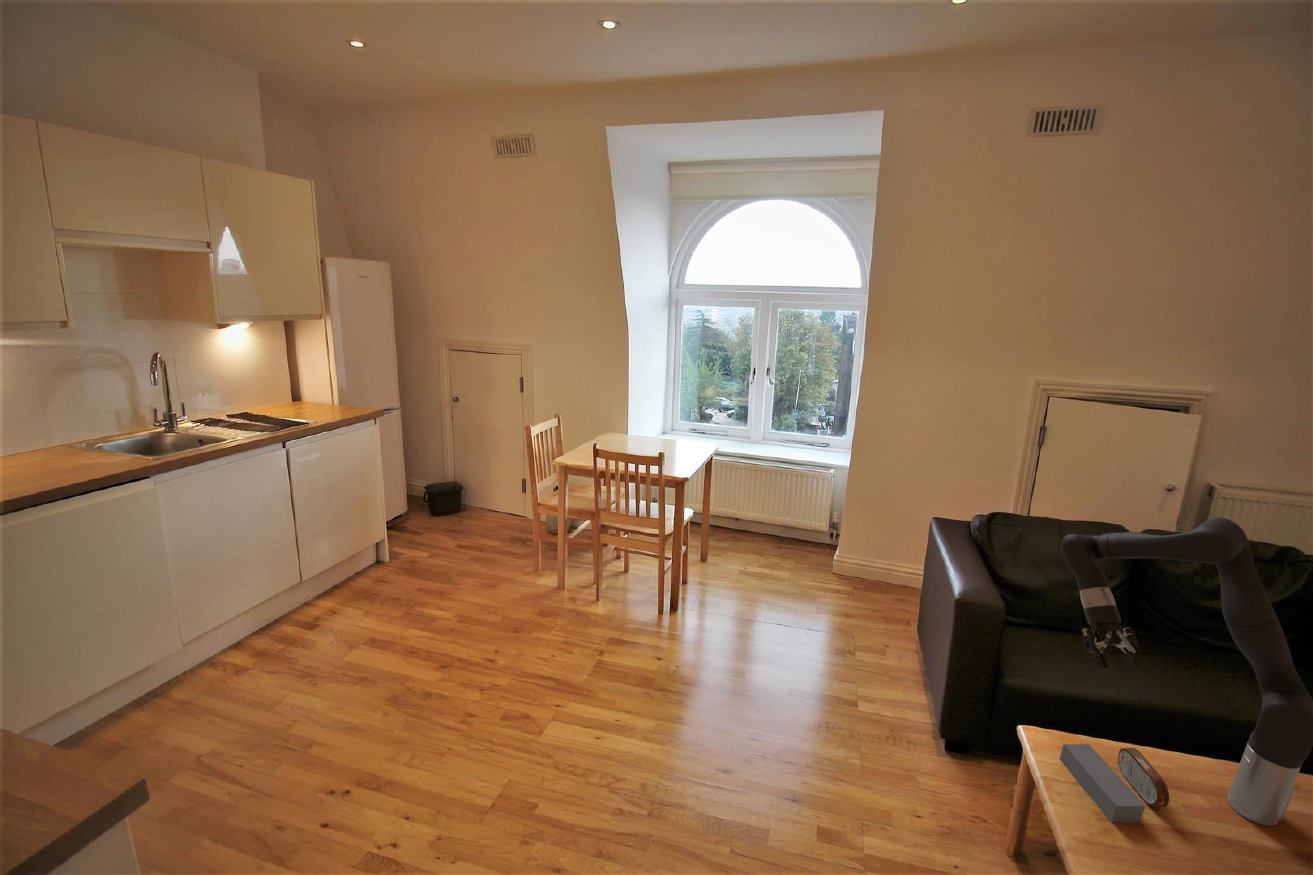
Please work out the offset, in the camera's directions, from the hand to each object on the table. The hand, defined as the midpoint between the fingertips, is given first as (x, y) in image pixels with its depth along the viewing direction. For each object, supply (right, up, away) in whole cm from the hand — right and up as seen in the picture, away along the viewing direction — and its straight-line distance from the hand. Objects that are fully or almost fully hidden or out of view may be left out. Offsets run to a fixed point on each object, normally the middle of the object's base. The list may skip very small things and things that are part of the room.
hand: (1119, 669), depth 160 cm
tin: (+1, -29, -5) cm, 29 cm away
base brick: (-10, -28, -5) cm, 31 cm away
